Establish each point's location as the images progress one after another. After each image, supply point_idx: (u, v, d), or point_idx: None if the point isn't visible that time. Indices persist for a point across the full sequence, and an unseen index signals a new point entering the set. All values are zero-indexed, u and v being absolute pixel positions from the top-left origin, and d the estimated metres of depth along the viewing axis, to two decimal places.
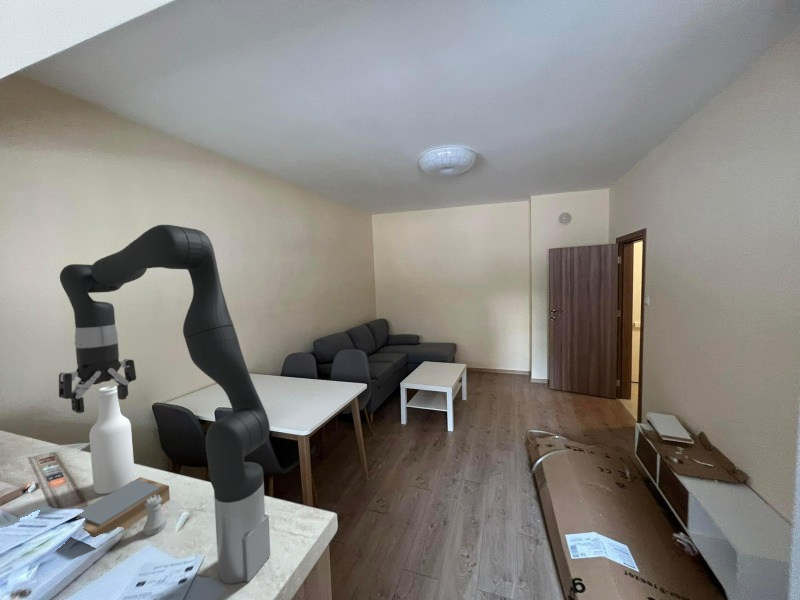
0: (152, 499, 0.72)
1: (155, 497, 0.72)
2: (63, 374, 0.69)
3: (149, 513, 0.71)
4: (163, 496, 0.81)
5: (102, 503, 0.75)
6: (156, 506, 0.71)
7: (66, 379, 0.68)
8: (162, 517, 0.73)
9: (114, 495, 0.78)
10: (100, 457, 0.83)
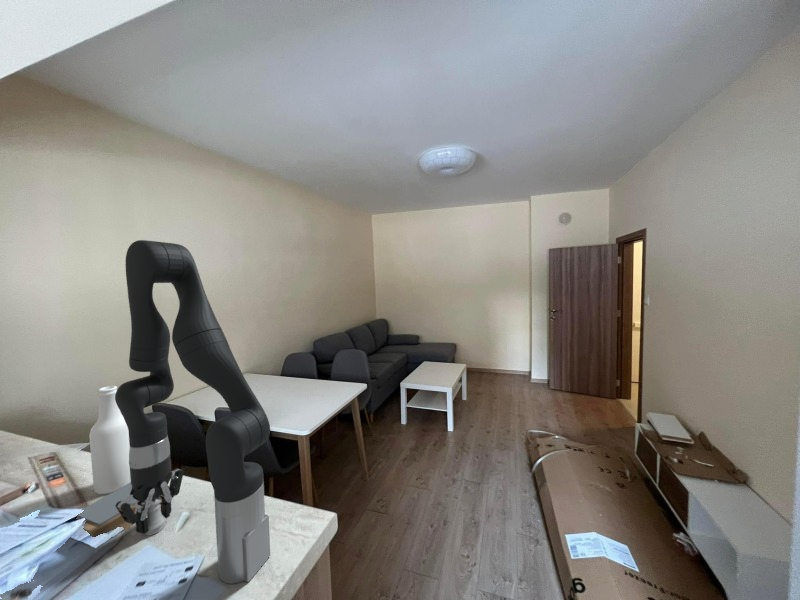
0: None
1: None
2: (120, 506, 0.65)
3: (149, 513, 0.71)
4: None
5: (102, 503, 0.75)
6: (156, 506, 0.71)
7: (125, 510, 0.65)
8: (162, 517, 0.73)
9: (114, 495, 0.78)
10: (100, 457, 0.83)
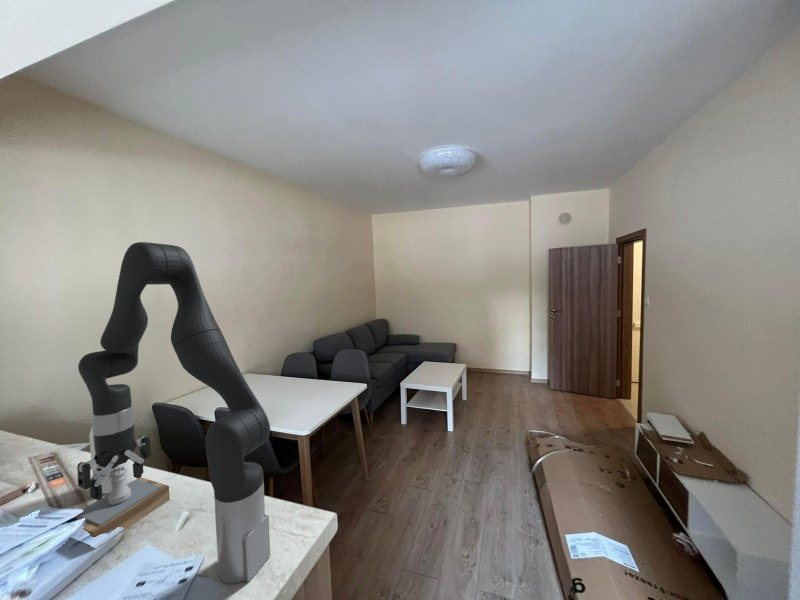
0: (116, 470, 0.76)
1: (120, 469, 0.76)
2: (82, 465, 0.69)
3: (113, 483, 0.75)
4: (163, 496, 0.81)
5: (102, 503, 0.75)
6: (120, 477, 0.75)
7: (85, 470, 0.69)
8: (127, 488, 0.77)
9: None
10: None
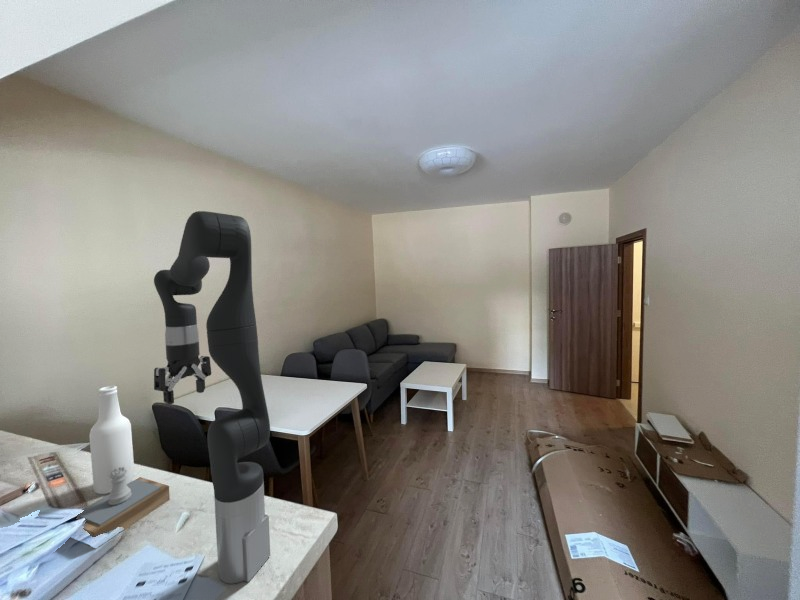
0: (117, 471, 0.76)
1: (120, 469, 0.76)
2: (158, 369, 0.76)
3: (114, 484, 0.75)
4: (163, 496, 0.81)
5: (102, 503, 0.75)
6: (120, 477, 0.75)
7: (161, 373, 0.76)
8: (127, 488, 0.77)
9: None
10: (100, 457, 0.83)
